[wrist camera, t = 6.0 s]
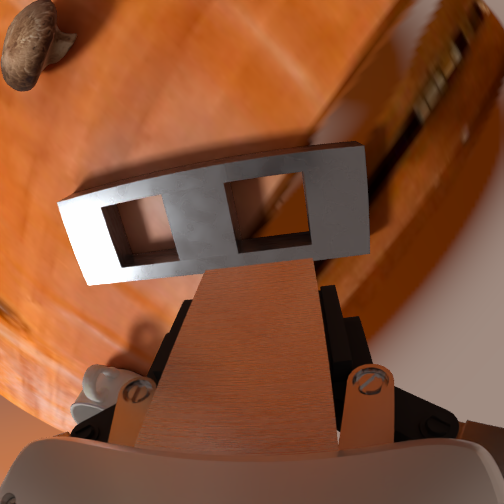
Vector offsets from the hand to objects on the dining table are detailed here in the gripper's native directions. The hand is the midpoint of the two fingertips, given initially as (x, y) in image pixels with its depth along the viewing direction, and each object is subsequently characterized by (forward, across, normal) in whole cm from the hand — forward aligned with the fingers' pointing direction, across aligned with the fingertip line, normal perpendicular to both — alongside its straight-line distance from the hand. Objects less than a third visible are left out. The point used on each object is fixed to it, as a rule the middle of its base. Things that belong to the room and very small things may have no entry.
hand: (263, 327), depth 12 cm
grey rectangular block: (+1, 0, 0) cm, 1 cm away
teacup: (+15, +20, +18) cm, 31 cm away
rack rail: (+14, +5, -1) cm, 15 cm away
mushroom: (+14, +16, -19) cm, 28 cm away
